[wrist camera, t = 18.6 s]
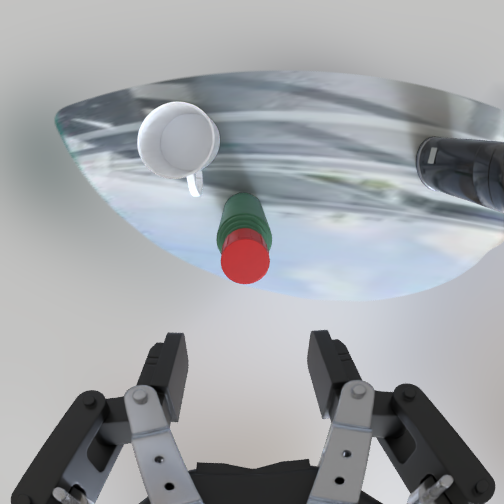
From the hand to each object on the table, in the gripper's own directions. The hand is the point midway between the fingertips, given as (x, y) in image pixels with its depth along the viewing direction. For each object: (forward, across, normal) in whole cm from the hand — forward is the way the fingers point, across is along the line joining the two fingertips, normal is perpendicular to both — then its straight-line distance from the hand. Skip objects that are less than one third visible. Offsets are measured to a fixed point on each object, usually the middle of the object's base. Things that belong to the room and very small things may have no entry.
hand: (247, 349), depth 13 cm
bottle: (+32, 0, 0) cm, 32 cm away
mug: (+32, +8, -9) cm, 34 cm away
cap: (+15, 0, 0) cm, 15 cm away
